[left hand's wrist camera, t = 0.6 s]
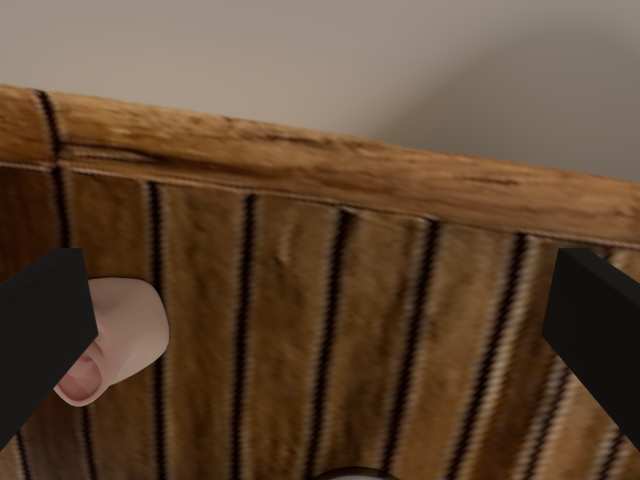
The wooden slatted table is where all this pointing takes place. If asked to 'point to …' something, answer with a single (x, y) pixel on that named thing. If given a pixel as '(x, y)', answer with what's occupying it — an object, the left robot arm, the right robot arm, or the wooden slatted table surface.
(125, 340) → the anatomical model
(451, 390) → the wooden slatted table surface
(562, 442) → the wooden slatted table surface
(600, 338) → the left robot arm
